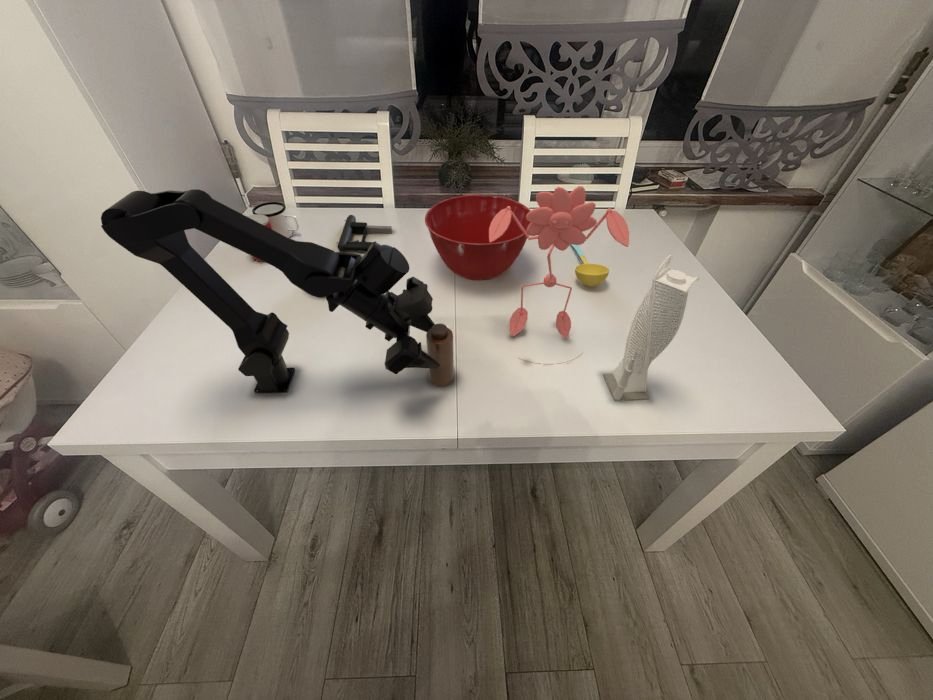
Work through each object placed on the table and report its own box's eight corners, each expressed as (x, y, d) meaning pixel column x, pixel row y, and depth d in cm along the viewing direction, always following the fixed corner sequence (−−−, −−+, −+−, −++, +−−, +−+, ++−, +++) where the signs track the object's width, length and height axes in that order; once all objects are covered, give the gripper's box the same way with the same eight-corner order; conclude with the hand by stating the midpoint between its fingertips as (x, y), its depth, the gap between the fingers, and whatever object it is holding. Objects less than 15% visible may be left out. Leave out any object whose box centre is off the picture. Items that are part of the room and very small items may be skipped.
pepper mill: (454, 386, 79) (453, 337, 70) (429, 387, 79) (425, 338, 70) (453, 368, 83) (452, 319, 73) (430, 369, 83) (426, 320, 73)
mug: (258, 243, 120) (246, 215, 114) (268, 228, 127) (258, 201, 121) (297, 243, 120) (288, 215, 114) (305, 228, 127) (297, 201, 121)
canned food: (272, 263, 112) (258, 227, 104) (246, 260, 113) (231, 224, 105) (286, 250, 117) (273, 215, 110) (262, 247, 118) (248, 212, 111)
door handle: (392, 215, 129) (343, 213, 128) (387, 246, 115) (332, 244, 113) (393, 225, 131) (344, 223, 130) (388, 256, 117) (333, 254, 116)
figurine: (485, 316, 95) (493, 167, 71) (592, 325, 93) (638, 175, 69) (479, 361, 84) (486, 203, 60) (600, 372, 82) (658, 213, 58)
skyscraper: (600, 370, 83) (643, 252, 63) (637, 368, 83) (691, 251, 64) (614, 401, 77) (666, 282, 57) (653, 399, 77) (718, 280, 58)
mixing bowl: (414, 288, 104) (409, 234, 93) (444, 237, 124) (442, 188, 113) (519, 304, 99) (526, 250, 88) (532, 249, 119) (539, 199, 108)
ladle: (577, 291, 102) (580, 270, 99) (556, 259, 124) (557, 241, 121) (611, 290, 102) (615, 269, 99) (584, 258, 124) (586, 240, 121)
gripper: (396, 313, 57) (470, 363, 65) (405, 248, 70) (466, 296, 78) (352, 352, 62) (426, 394, 70) (369, 285, 75) (429, 327, 83)
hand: (438, 349), depth 75 cm, fingers open, 9 cm apart
